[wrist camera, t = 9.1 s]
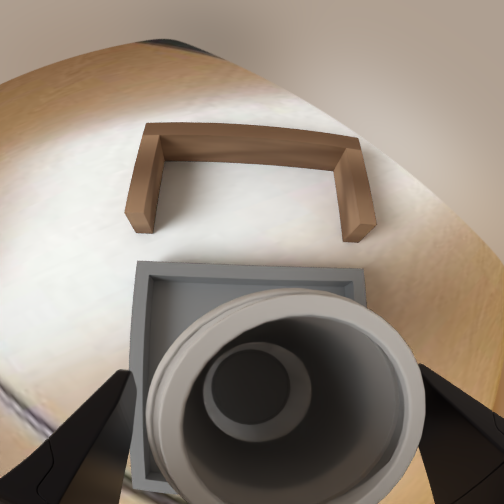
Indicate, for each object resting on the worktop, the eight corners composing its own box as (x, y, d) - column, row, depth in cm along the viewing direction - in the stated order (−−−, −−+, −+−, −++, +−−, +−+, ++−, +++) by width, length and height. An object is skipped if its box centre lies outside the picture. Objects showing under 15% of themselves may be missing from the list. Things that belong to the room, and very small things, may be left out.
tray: (353, 472, 15) (366, 481, 14) (140, 477, 14) (133, 488, 12) (350, 277, 20) (363, 268, 18) (144, 270, 19) (137, 260, 17)
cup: (198, 447, 15) (167, 565, 4) (182, 339, 17) (114, 292, 6) (318, 428, 16) (447, 491, 5) (301, 323, 18) (416, 255, 7)
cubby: (358, 242, 21) (376, 225, 18) (136, 233, 20) (124, 212, 17) (345, 160, 24) (358, 138, 21) (152, 148, 22) (146, 122, 19)
